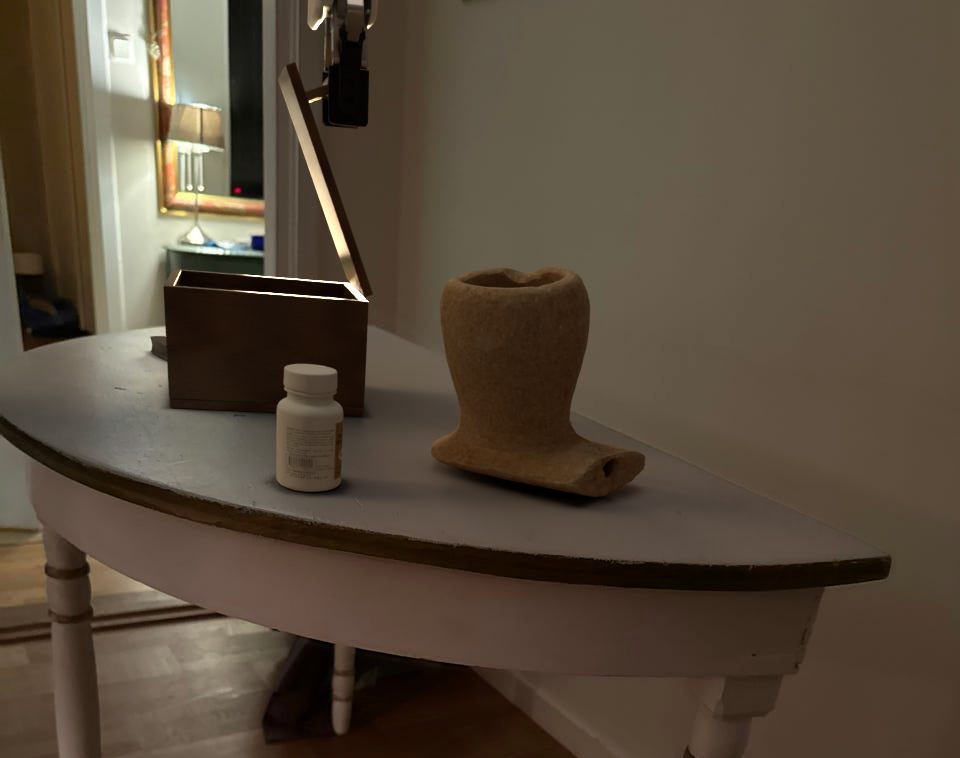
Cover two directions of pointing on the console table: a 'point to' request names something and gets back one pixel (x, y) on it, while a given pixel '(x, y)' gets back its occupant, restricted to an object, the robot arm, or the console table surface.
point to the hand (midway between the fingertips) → (344, 124)
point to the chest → (260, 338)
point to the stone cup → (523, 382)
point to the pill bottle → (309, 430)
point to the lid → (323, 173)
